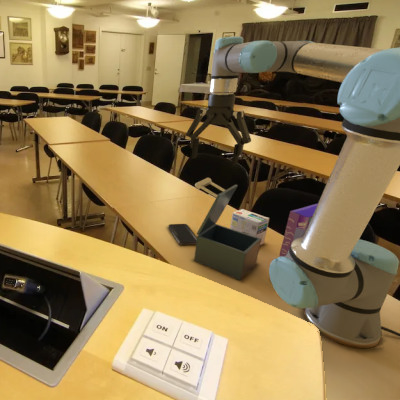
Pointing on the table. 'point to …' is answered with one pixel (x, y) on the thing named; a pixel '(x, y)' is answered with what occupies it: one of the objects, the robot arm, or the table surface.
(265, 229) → the light bulb box
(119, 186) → the table surface
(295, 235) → the cereal box
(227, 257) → the dark green box
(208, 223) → the lid
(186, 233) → the phone
